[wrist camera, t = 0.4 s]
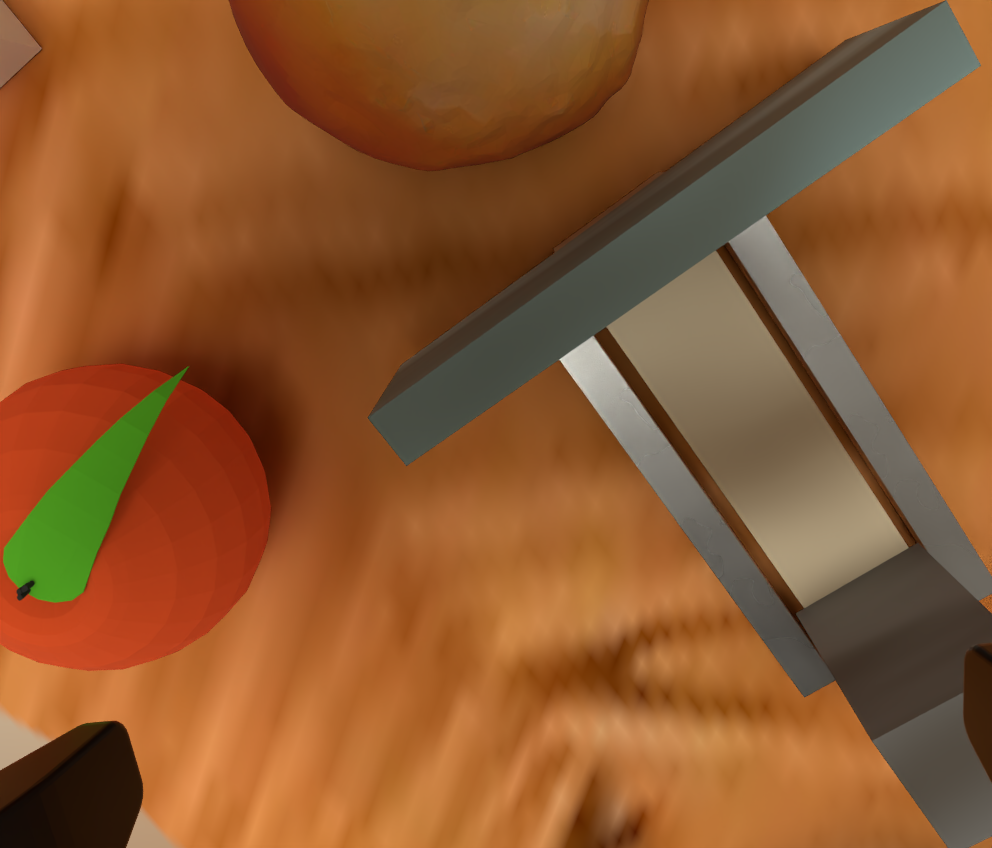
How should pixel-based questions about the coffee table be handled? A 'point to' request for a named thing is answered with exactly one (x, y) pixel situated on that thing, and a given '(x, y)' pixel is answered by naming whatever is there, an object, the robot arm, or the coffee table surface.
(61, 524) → the clementine
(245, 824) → the coffee table surface
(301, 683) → the coffee table surface
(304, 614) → the coffee table surface
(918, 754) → the kicker
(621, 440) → the track
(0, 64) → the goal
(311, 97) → the fruit
